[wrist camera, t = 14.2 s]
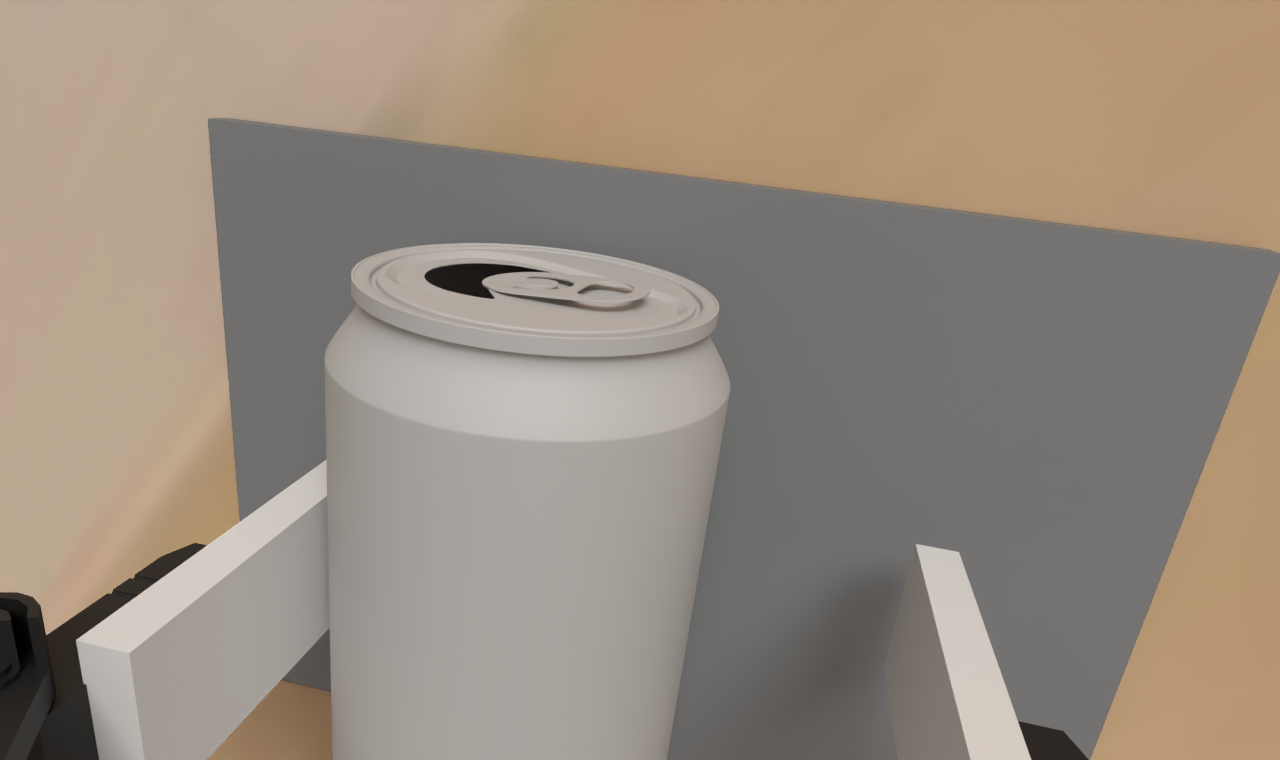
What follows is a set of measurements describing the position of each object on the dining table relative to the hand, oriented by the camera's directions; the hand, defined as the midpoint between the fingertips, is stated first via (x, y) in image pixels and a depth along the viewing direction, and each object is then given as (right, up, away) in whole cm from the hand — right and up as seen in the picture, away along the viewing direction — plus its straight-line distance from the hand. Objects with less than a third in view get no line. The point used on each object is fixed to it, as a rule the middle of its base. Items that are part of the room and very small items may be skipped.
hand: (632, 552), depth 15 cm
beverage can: (-3, -6, +1) cm, 7 cm away
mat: (0, +1, +2) cm, 2 cm away
